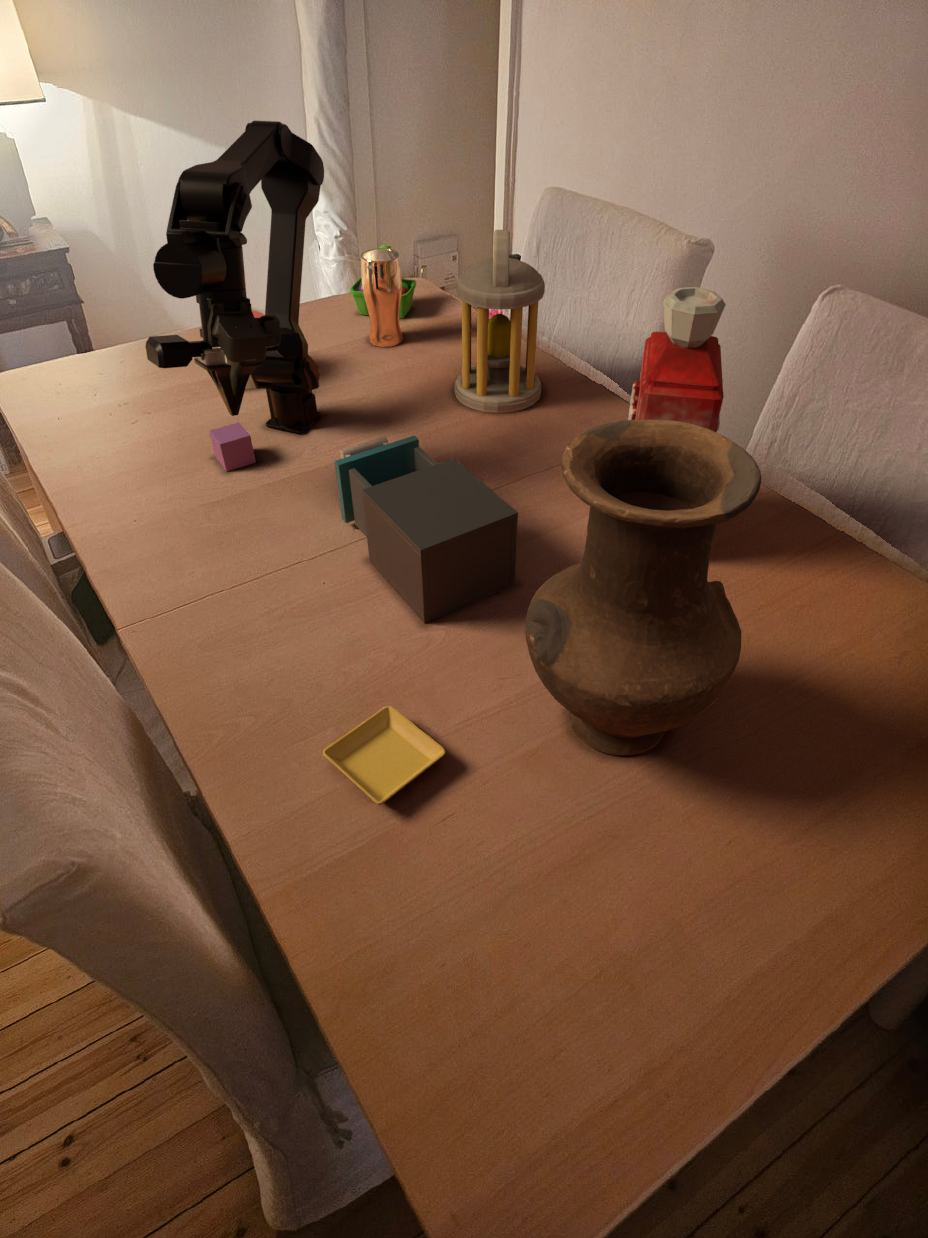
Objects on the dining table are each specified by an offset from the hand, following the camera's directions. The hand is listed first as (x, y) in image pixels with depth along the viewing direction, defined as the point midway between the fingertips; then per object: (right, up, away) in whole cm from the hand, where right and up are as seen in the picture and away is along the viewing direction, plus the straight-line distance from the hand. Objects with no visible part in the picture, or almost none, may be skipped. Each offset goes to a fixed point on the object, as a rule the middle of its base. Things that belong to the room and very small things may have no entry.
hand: (234, 414), depth 108 cm
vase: (+45, -37, -24) cm, 63 cm away
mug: (-5, +13, +30) cm, 33 cm away
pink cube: (-3, -4, +12) cm, 13 cm away
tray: (+21, -14, -1) cm, 25 cm away
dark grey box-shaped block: (+27, -21, -7) cm, 35 cm away
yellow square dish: (+23, -41, -28) cm, 55 cm away
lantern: (+36, +10, +27) cm, 46 cm away
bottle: (+55, -15, 0) cm, 57 cm away
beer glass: (+16, +24, +42) cm, 51 cm away
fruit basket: (+15, +33, +52) cm, 64 cm away
